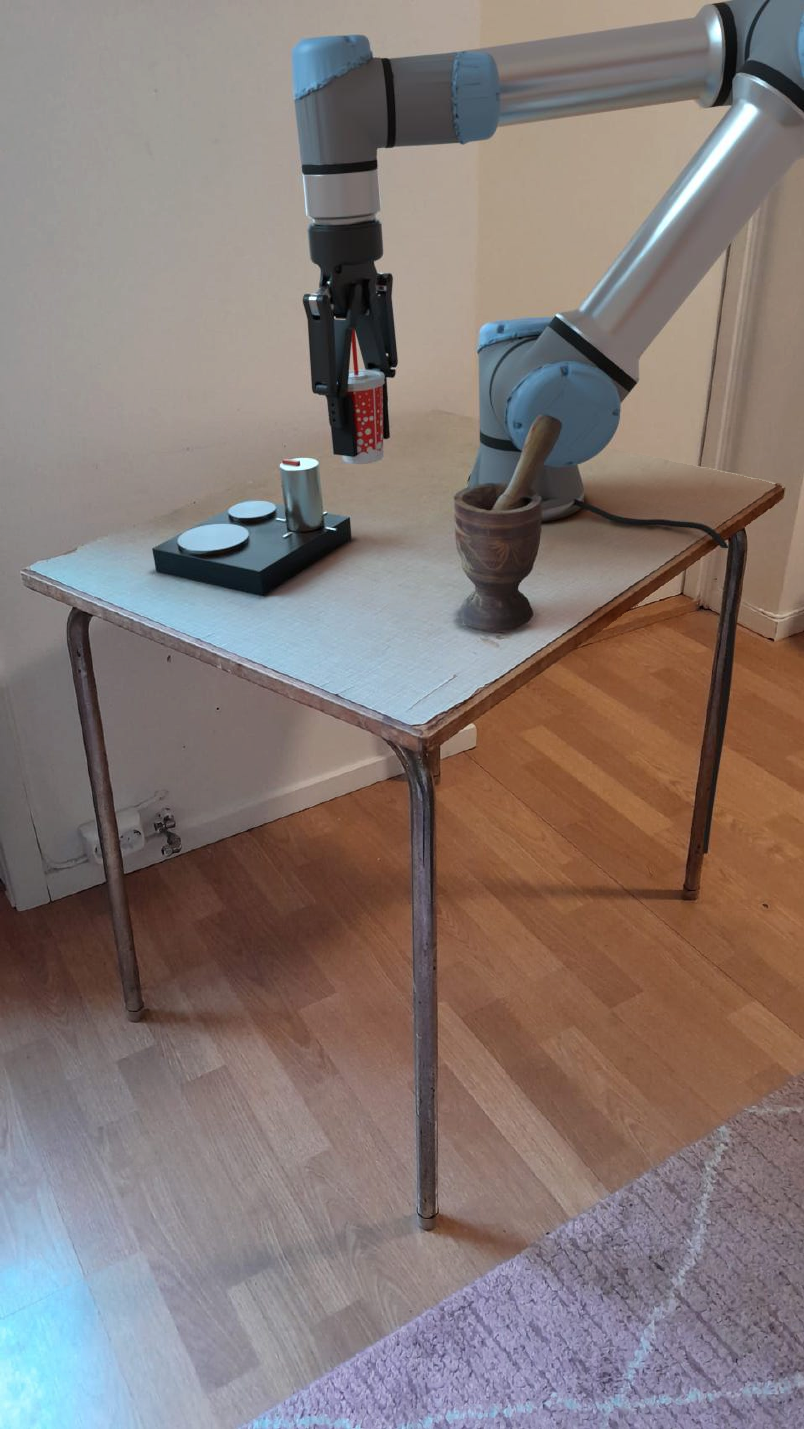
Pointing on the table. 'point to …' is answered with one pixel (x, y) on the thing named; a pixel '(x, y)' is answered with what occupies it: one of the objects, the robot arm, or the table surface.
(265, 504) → the hot plates
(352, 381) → the beverage cup
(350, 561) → the table surface
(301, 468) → the knob
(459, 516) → the mortar and pestle
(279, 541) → the hob
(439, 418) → the table surface
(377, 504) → the table surface
